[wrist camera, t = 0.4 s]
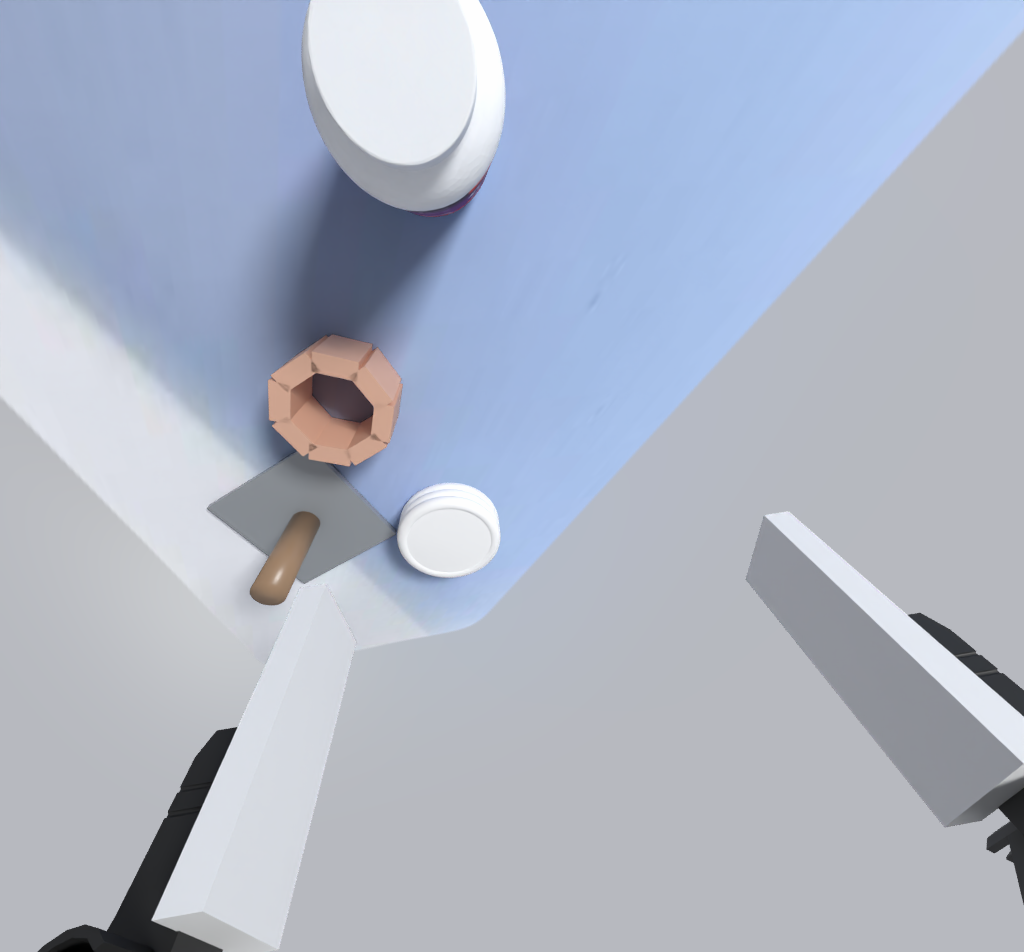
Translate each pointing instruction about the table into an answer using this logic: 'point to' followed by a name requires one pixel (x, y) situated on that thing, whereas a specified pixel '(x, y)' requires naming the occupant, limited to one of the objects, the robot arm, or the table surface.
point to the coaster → (448, 530)
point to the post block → (300, 522)
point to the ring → (312, 423)
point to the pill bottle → (406, 96)
